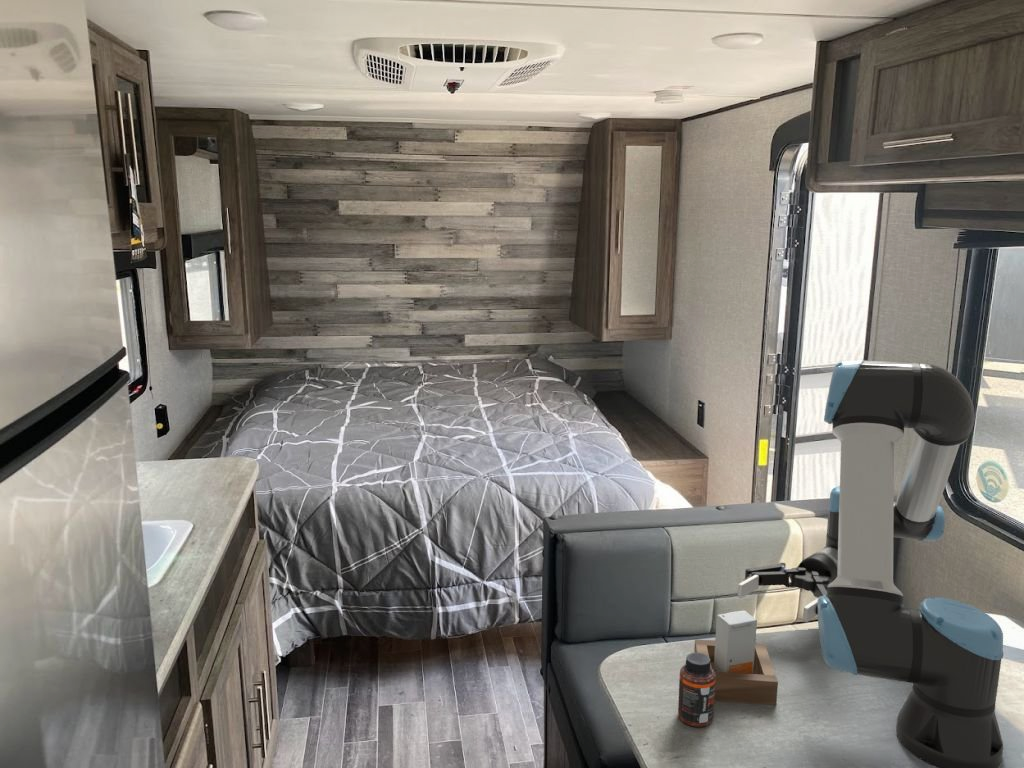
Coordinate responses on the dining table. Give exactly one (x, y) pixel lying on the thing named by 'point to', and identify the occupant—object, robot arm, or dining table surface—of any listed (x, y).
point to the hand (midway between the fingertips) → (771, 602)
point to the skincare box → (735, 642)
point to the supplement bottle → (696, 691)
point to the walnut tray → (743, 678)
